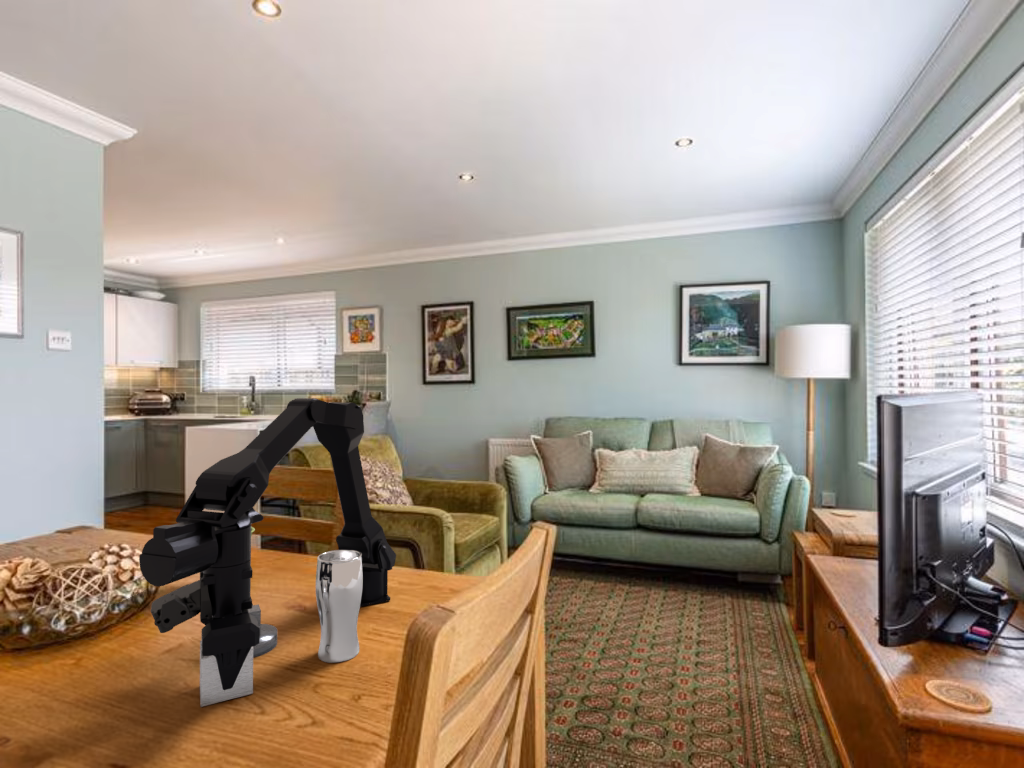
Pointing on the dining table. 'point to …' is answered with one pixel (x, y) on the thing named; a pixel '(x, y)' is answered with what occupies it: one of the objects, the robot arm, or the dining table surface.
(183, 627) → the dining table surface
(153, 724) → the dining table surface
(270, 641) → the ratchet
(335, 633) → the beer glass
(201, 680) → the cube with round boss
